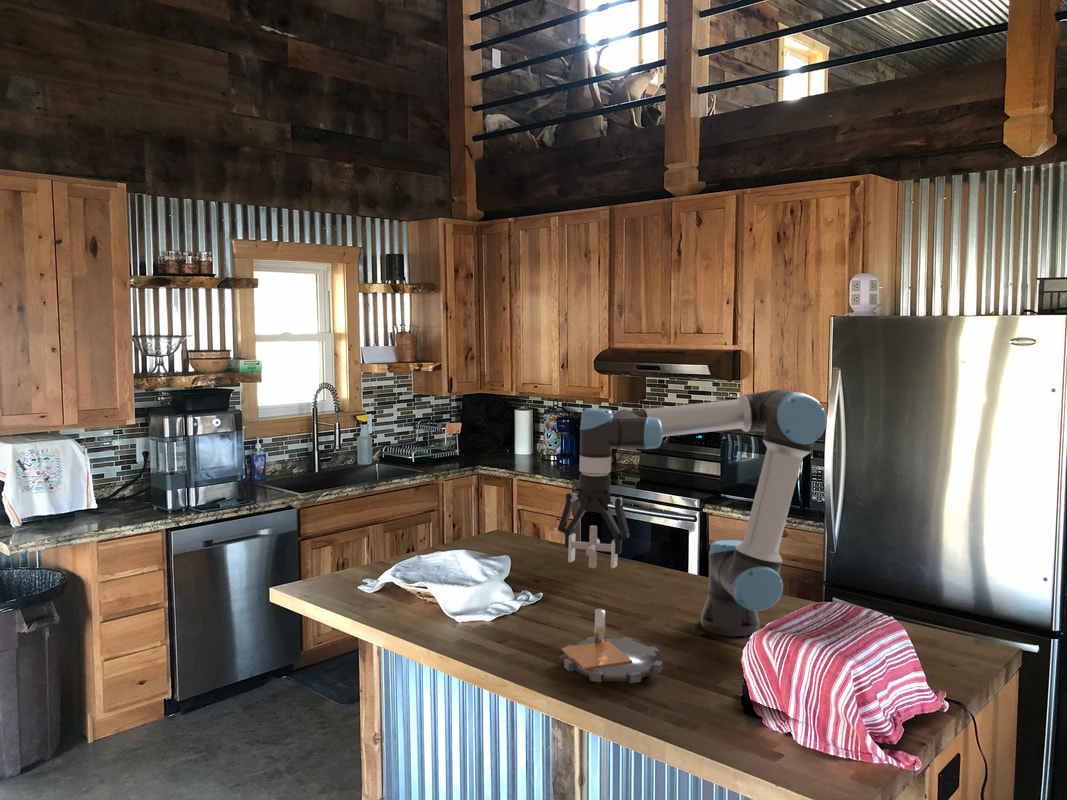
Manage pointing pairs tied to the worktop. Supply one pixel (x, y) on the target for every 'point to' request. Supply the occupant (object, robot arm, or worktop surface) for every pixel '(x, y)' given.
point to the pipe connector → (592, 546)
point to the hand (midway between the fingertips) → (592, 563)
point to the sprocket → (611, 656)
